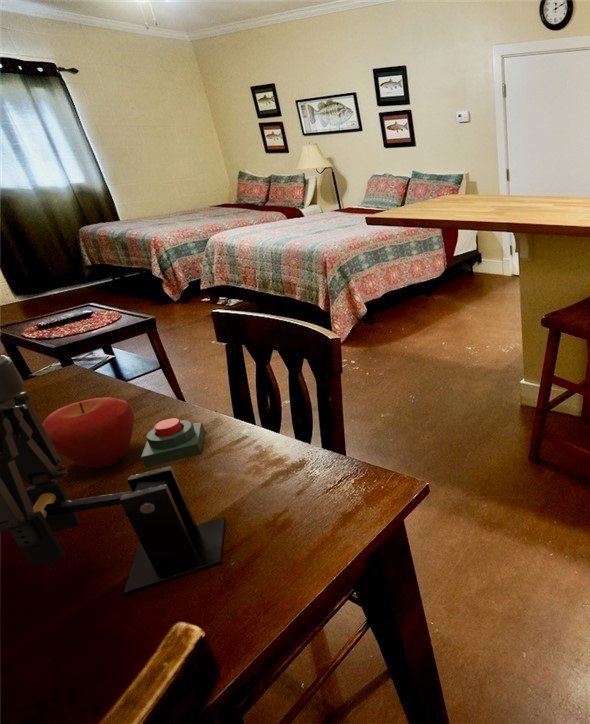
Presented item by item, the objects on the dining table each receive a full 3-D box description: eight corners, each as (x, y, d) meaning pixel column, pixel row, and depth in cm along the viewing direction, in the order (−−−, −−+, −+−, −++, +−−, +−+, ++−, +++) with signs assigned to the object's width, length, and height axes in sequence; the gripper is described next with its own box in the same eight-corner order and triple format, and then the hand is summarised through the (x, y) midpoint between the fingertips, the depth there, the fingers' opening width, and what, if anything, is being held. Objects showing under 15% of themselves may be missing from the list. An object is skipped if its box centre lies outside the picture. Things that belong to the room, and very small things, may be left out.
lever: (24, 536, 52) (19, 518, 51) (41, 507, 56) (36, 490, 55) (164, 511, 58) (161, 495, 57) (170, 487, 62) (167, 472, 61)
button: (156, 439, 82) (152, 431, 81) (159, 429, 84) (156, 421, 84) (181, 434, 83) (177, 425, 82) (183, 424, 86) (180, 416, 85)
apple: (154, 437, 88) (129, 380, 83) (140, 470, 80) (112, 409, 75) (78, 453, 84) (47, 394, 79) (54, 489, 75) (18, 426, 70)
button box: (145, 467, 80) (136, 448, 79) (153, 443, 87) (146, 425, 85) (201, 454, 84) (194, 435, 82) (205, 431, 90) (198, 413, 88)
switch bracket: (127, 599, 57) (82, 520, 52) (142, 548, 65) (104, 473, 59) (223, 567, 62) (191, 491, 56) (227, 522, 69) (199, 451, 63)
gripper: (-40, 399, 40) (75, 589, 50) (40, 329, 54) (117, 487, 64) (-176, 421, 37) (-23, 619, 47) (-53, 341, 51) (43, 505, 61)
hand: (57, 543), depth 56 cm, fingers closed on lever, 5 cm apart
